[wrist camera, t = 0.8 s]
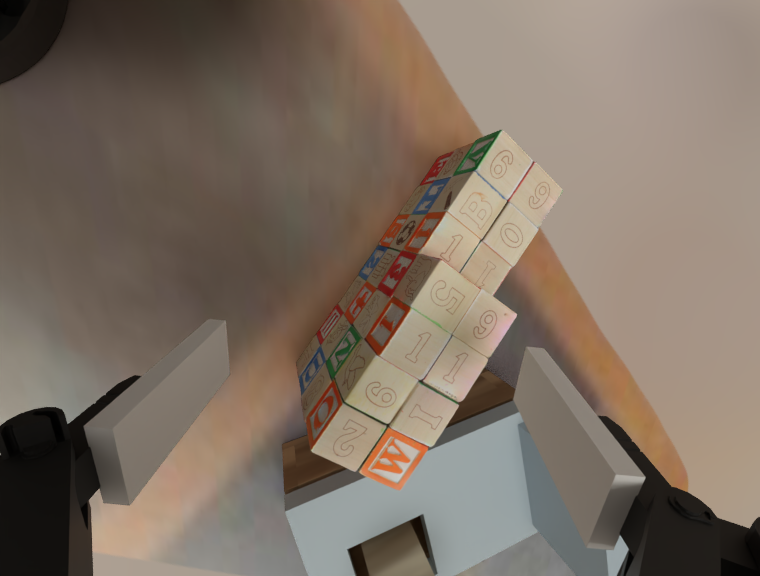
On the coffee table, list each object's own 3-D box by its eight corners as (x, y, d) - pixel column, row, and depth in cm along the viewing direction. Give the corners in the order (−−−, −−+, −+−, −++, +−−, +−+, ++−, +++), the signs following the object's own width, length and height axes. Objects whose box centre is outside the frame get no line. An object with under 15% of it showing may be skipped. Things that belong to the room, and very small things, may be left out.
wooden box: (282, 444, 30) (284, 490, 25) (484, 367, 35) (521, 393, 30) (319, 551, 33) (327, 613, 28) (500, 467, 38) (537, 507, 33)
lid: (284, 495, 25) (290, 637, 16) (524, 395, 29) (626, 465, 21) (328, 619, 28) (352, 794, 19) (540, 510, 32) (636, 613, 24)
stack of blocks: (436, 154, 30) (540, 111, 18) (487, 199, 32) (608, 187, 21) (294, 364, 30) (308, 455, 18) (354, 396, 32) (401, 496, 20)
